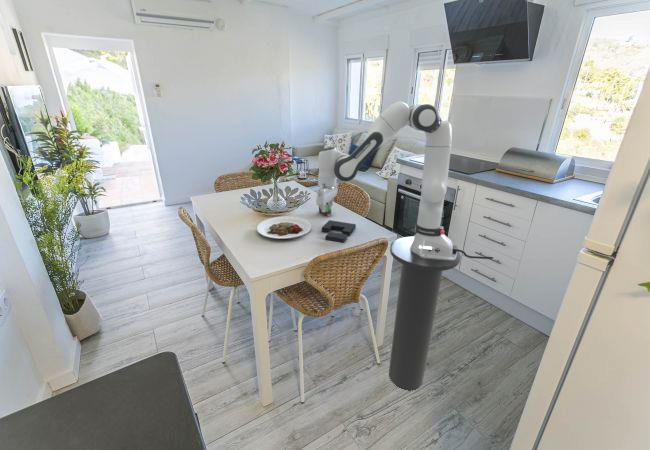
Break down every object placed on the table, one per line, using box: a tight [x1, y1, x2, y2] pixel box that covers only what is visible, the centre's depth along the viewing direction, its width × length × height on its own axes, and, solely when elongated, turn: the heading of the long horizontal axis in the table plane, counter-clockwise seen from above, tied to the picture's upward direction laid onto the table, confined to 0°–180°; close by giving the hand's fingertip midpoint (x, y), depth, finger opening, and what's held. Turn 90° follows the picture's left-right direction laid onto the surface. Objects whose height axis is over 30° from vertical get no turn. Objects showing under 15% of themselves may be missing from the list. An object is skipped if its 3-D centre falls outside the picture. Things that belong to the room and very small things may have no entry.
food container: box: [318, 202, 333, 218], centre depth 198 cm, size 12×6×10 cm, turn 34°
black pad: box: [321, 219, 357, 237], centre depth 176 cm, size 16×12×2 cm
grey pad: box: [324, 231, 348, 244], centre depth 164 cm, size 6×10×2 cm, turn 69°
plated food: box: [256, 215, 312, 240], centre depth 174 cm, size 30×30×3 cm
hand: (327, 208), depth 157 cm, fingers open, 8 cm apart
